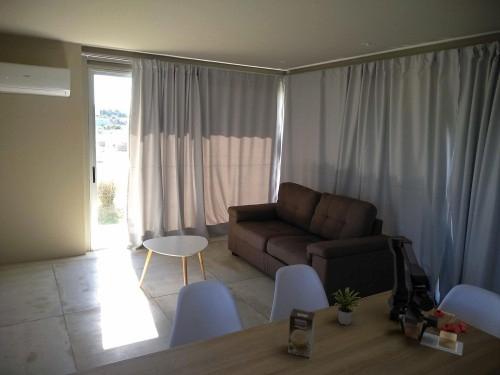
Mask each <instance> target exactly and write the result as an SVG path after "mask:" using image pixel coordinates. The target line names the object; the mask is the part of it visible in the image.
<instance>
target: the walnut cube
mask: <svg viewBox="0 0 500 375" xmlns="http://www.w3.org/2000/svg"><path fill="white" fill-rule="evenodd" d="M420 328H421V325H419V324H417V325H413V324H410V323H406V325H405V330H404V336H405V337H409V338H411V339H415V340H419V336H420V332H421V331H420Z"/></svg>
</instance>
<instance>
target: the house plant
mask: <svg viewBox="0 0 500 375" xmlns="http://www.w3.org/2000/svg"><path fill="white" fill-rule="evenodd" d="M354 292H355V290H352V291H351V292H350V287H349V286H348V287H346V288H345V291H344V293H343V292H342V291H341V290H340V289H339V288H338V291H336V292H334V293H333V294H332V293H331V295H332V296H333V295H335V296H334V299H335V300H337V301H338V302H339V303H338V302H335V303H334V307H337V306H338V307H337V317H338V323H339V322H340V323H339V324H341V325H343V324H345V325H344V326H348V324H349V325H350V324H351V323H352V322H351V321H352V317H353V314H354V309H353V307H358V308H360V306H361V304H360V303H359V302H358V301H359V299H360V298H361V297H356V296H357V295H358V294H360V292H355V293H354ZM353 293H354V294H353ZM343 294H344V295H343ZM352 294H353V295H352ZM351 295H352V296H351ZM356 301H357V302H356ZM360 301H362V302H364V300H361V299H360Z"/></svg>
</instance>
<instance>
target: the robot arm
mask: <svg viewBox="0 0 500 375" xmlns="http://www.w3.org/2000/svg"><path fill="white" fill-rule="evenodd" d="M387 243H388V248H389V250H390V252H391V253H392V255H393V273H394V274H393V275H394V277H393V278H394V287H393V288H392V290H391V295H390V296H389V298H387V304H388V305H389V307H390V310H389V317H388V320H391V321H395V322H399V324H400V327H401V330H402V333H403V334H405V329H406V325H405V324H407V323H410V324H413V325H419V324H422V327H421V331H420V333H419V336H420V338H421V339H422V337H423V334H424V332H425V331H426V330H427V328H428V329H430V328H434V329H436V328H438V326H439V321H440V319H439V318H438V316H435V315H434V314H428V316H425V315H424V313H422V312H425V313H428V312H431V311H432V310H433V309H434V307H435V303H434V300H433V299H432V298H431V295H430V294H429V293H432V290H431V288H432V286H431V283H430V282H431V281H430V280H429V279H430V278H429V275H428V274H427V272H426V270H425V269H424V268H423V267H421V265H420V264H419V262H418V258H417V256H416V253H415V250H414V247H413V242H412V240H411V238H407V237H406V236H404V235H390V237H388V239H387ZM405 265H406V266H405ZM406 267H407V268H406ZM406 269H407V272H406ZM406 284H407V285H406ZM407 286H408V287H409V288H408V287H407Z"/></svg>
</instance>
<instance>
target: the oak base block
mask: <svg viewBox="0 0 500 375" xmlns="http://www.w3.org/2000/svg"><path fill="white" fill-rule="evenodd" d="M438 336H439V345H438V346H441V347H444V348H448V349H451V350H455V347H456V341H457V338H458V335H457V334H456V333H454V332H447V331H446V332H445V331H443V330H440V333H439V335H438Z"/></svg>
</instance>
